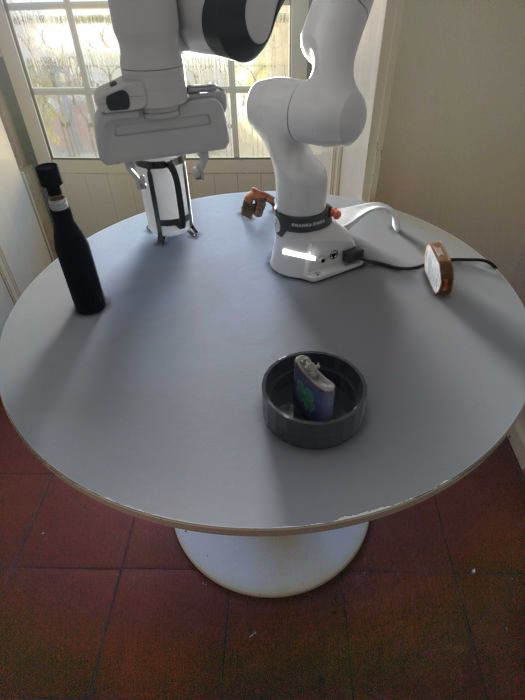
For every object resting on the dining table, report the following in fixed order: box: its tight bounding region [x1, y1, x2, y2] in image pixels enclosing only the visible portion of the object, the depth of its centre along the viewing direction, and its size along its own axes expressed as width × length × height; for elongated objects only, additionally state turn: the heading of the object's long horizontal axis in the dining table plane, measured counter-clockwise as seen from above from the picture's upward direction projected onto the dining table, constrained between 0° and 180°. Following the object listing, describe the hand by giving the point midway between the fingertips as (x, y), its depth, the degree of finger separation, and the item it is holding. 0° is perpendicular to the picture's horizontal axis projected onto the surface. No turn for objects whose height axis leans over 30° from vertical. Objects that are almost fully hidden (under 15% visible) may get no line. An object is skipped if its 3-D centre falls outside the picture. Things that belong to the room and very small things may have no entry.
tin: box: [423, 239, 455, 296], centre depth 102 cm, size 15×3×8 cm, turn 178°
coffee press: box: [134, 154, 199, 245], centre depth 117 cm, size 17×16×30 cm
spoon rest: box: [332, 201, 401, 232], centre depth 123 cm, size 24×12×7 cm, turn 93°
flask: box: [293, 355, 336, 422], centre depth 72 cm, size 9×3×11 cm, turn 29°
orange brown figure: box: [240, 186, 276, 220], centre depth 133 cm, size 12×10×8 cm
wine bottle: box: [34, 162, 107, 316], centre depth 92 cm, size 6×6×30 cm
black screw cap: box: [261, 350, 368, 449], centre depth 75 cm, size 16×16×6 cm
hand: (170, 183), depth 76 cm, fingers open, 8 cm apart
